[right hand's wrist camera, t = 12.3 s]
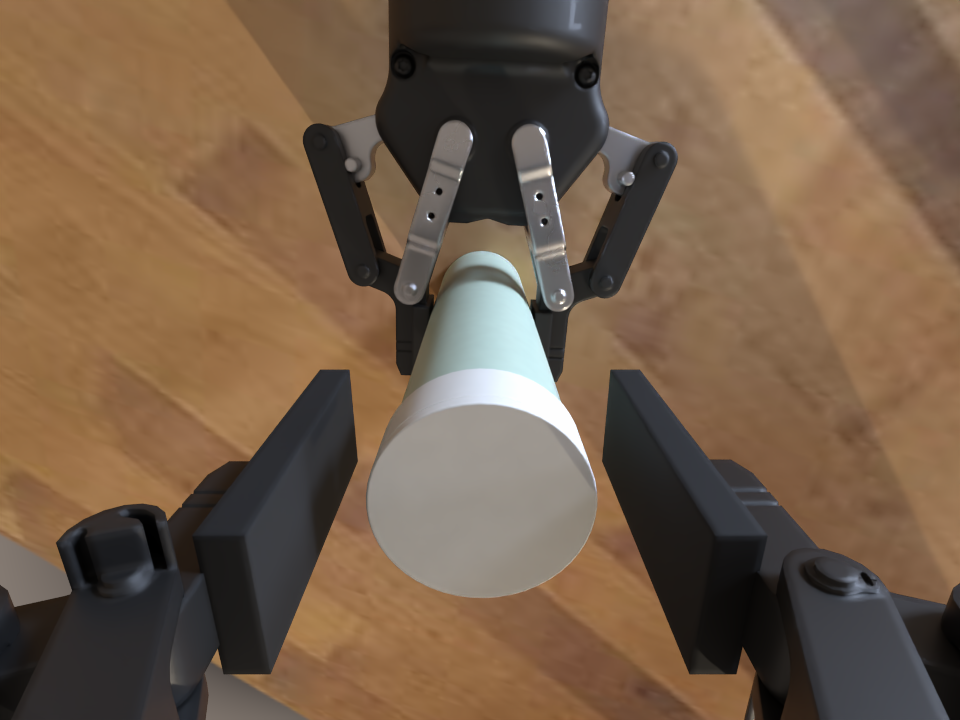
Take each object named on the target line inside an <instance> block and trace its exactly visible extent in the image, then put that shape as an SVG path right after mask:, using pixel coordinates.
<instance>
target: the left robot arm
mask: <svg viewBox="0 0 960 720" xmlns="http://www.w3.org/2000/svg"><path fill="white" fill-rule="evenodd" d="M608 1H609V0H389V75H388V80H387V84H386V87H385V90H384V92H383V94H382V96H381V98H380V100H379V102H378V104H377V107H376V113H375V115H372V116H368V117H365V118H361V119H358V120H354V121H351V122H347V123H344V124H340V125H337V126H328V125H324V124H313V125H311V126H309V127H308V128H307V129H306V131H305V132H304V135H303V144H304V148H305V151H306V154H307V157H308V159H309V162H310V165H311V168H312V171H313V174H314V177H315V180H316V183H317V186H318V189H319V192H320V194H321V197H322V200H323V203H324V206H325V209H326V212H327V215H328V218H329V221H330V224H331V226H332V229H333V232H334V235H335V238H336V241H337V244H338V247H339V250H340V253H341V256H342V259H343V261H344V264H345V267H346V270H347V273H348V276H349V278H350V279H351V281H352V282H353V283H355V284H357V285H359V286H371V287H373V288H376V289H378V290H381V291H383V292H385V293H387V294H388V295H389V296H390V297H391V298H392V299H393V301H394V303H395V306H396V364H397V366H398V369H399V371H400V373H401V375H411V374H412V371H413V368H414V365H415V362H416V359H417V356H418V353H419V350H420V347H421V344H422V340H423V337H424V334H425V331H426V328H427V325H428V322H429V319H430V316H431V313H432V310H433V307H434V295H430V294H429V282H430V279H431V276H432V273H433V270H434V267H435V264H436V261H437V258H438V254H439V251H440V248H441V245H442V242H443V240H444V237H445V234H446V231H447V228H448V224H449V222H454V223H469V222H474V221H478V220H483V219H491V220H494V221H497V222H500V223H504V224H507V225H517V226H524V229H525V234H526V238H527V242H528V246H529V250H530V254H531V259H532V263H533V268H534V273H535V277H536V282H537V294H536V300H531V304H530V311H531V314H532V317H533V320H534V323H535V326H536V329H537V332H538V335H539V338H540V341H541V344H542V347H543V350H544V353H545V356H546V359H547V362H548V365H549V368H550V371H551V374H552V377H553V380H554V382H557V380H558V379H559V377H560V375H561V373H562V370H563V361H564V351H565V342H566V333H567V323H568V316H569V313H570V311H571V309H572V308H573V307H574V306H575V305H576V304H577V303H579V302H581V301H584V300H588V299H591V298H594V297H600V298H610V297H612V296H614V295H615V294H616V293H617V292H618V291H619V289H620V287H621V285H622V283H623V281H624V279H625V276H626V274H627V272H628V270H629V268H630V265H631V263H632V261H633V259H634V257H635V254H636V252H637V250H638V248H639V246H640V243H641V241H642V239H643V237H644V235H645V232H646V230H647V228H648V226H649V224H650V222H651V219H652V217H653V215H654V213H655V211H656V208H657V206H658V204H659V202H660V200H661V197H662V195H663V193H664V191H665V189H666V186H667V184H668V182H669V180H670V178H671V175H672V173H673V171H674V169H675V167H676V164H677V160H678V156H677V151H676V149H675V148H674V146H672V145H671V144H670V143H667V142H647V141H644V140H642V139H639V138H637V137H634V136H632V135H629V134H627V133H624V132H622V131H619V130H617V129H614V128H612V127H609V119H608V114H607V112H606V109H605V107H604V104H603V101H602V97H601V91H600V74H601V65H602V56H603V46H604V37H605V28H606V19H607V10H608ZM382 143H385V145H386V146H387V148H388V149H389V151H390V152H391V154H392V155H393V157H394V158H395V160H396V161H397V163H398V164H399V166H400V167H401V169H402V170H403V172H404V173H405V175H406V176H407V178H408V179H409V181H410V182H411V184H412V185H413V187H414V188H415V190H416V191H417V193H418V194H419V196H420V198H419V201H418V204H417V208H416V211H415V214H414V218H413V221H412V224H411V228H410V231H409V234H408V238H407V244H406V248H405V251H404V255H403V258H402V259H400V258H397V257H395V256H393V255H390V254H388V253H387V252H386V249H385V246H384V243H383V239H382V236H381V233H380V230H379V227H378V224H377V220H376V217H375V214H374V211H373V208H372V204H371V201H370V198H369V195H368V192H367V188H366V185H365V182H364V181H366V180H368V179H370V178H371V177H372V176H373V174H374V172H375V168H376V164H375V153H376V150H377V148H378V147H379V146H380V145H381V144H382ZM597 154H599V155H600V156H601V157H602V159H603V161H604V166H605V168H604V174H603V184H604V186H605V188H606V189H607V190H608V191H609V192H611V193H612V194H611V197H610V199H609V201H608V204H607V206H606V209H605V211H604V213H603V216H602V218H601V220H600V223H599V225H598V227H597V230H596V232H595V235H594V237H593V239H592V242H591V244H590V246H589V249H588V251H587V253H586V256H585V258H584V261H583V262H582V263H579V264H576V265H572V266H569V265H568V260H567V255H566V242H565V237H564V231H563V226H562V221H561V216H560V211H559V206H558V201H559V200H560V199H561V198H562V196H563V195H564V194H565V193H566V192H567V190H568V189H569V188H570V187H571V185H572V184H573V183H574V182H575V181H576V179H577V178H578V177H579V176H580V174H581V173H582V172H583V171H584V170H585V168H586V167H587V166H588V165H589V163H590V162H591V161H592V160H593V159H594V157H595V156H596V155H597Z"/></svg>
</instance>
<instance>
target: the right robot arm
mask: <svg viewBox="0 0 960 720" xmlns="http://www.w3.org/2000/svg"><path fill="white" fill-rule="evenodd" d="M357 462H358V458H357V447H356V437H355V426H354V415H353V404H352V393H351V382H350V371H349V370H320V371H319V372H318V373H317V375H316V376H315V377H314V379H313V380H312V381H311V382H310V384H309V385H308V386H307V388H306V389H305V390H304V391H303V393H302V394H301V395H300V397H299V398H298V399H297V401H296V402H295V403H294V404H293V406H292V407H291V408H290V410H289V411H288V412H287V413H286V415H285V416H284V417H283V419H282V420H281V421H280V423H279V424H278V425H277V426H276V428H275V429H274V430H273V432H272V433H271V434H270V435H269V437H268V438H267V439H266V441H265V442H264V443H263V445H262V446H261V447H260V448H259V450H258V451H257V452H256V454H255V455H254V456H253V457H252V459H251V460H250V461H229V462H228V463H226V464H224V465H223V466H221V467H220V468H218V469H216V470H215V471H213V472H212V473H210V474H208V475H207V476H206V477H205V479H204V480H203V481H202V482H201V483H200V484H199V486H198V487H197V488H196V489H195V490H194V494H191V495H190V496H189V497H188V498H187V499H186V500H185V502H184V503H183V504H182V508H178V510H177V511H176V512H175V513H174V514H173V515H172V516H171V518H170V519H169V520H168V521H167V518H166V514H165V512H164V511H163V510H161V509H160V508H159V507H157V506H153V505H147V504H133V505H123V506H119V507H116V508H112V509H108V510H104V511H102V512H99V513H97V514H95V515H93V516H90V517H88V518H86V519H84V520H82V521H81V522H79V523H78V524H76V525H75V526H73V527H71V528H70V529H68V530H67V531H66V532H65V533H64V534H63V535H62V537H61V538H60V539H59V540H58V541H57V542H56V544H57V547H58V550H59V553H60V556H61V559H62V562H63V565H64V568H65V571H66V574H67V577H68V580H69V583H70V586H71V589H72V592H71V594H70V595H67V596H63V597H59V598H54V599H50V600H45V601H40V602H36V603H31V604H27V605H22V606H17V607H14V605H13V603H12V600H11V598H10V595H9V593H8V590H6V589H5V588H3V587H2V586H1V585H0V720H205V719H206V711H207V703H208V688H207V682H206V677H205V674H204V673H205V671H206V669H207V667H208V665H209V664H210V662H211V660H212V658H213V656H214V654H215V652H216V651H217V649H218V652H219V656H220V660H221V665H222V669H223V673H224V674H271V672H272V669H273V667H274V664H275V662H276V659H277V657H278V655H279V652H280V650H281V647H282V645H283V642H284V640H285V637H286V635H287V633H288V630H289V628H290V625H291V623H292V620H293V618H294V616H295V613H296V611H297V608H298V606H299V603H300V601H301V598H302V596H303V594H304V591H305V589H306V586H307V584H308V581H309V579H310V576H311V574H312V572H313V569H314V567H315V564H316V562H317V559H318V557H319V555H320V552H321V550H322V547H323V545H324V542H325V540H326V537H327V535H328V533H329V530H330V528H331V525H332V523H333V520H334V518H335V516H336V513H337V511H338V508H339V506H340V503H341V501H342V498H343V496H344V494H345V491H346V489H347V486H348V484H349V481H350V479H351V476H352V474H353V472H354V469H355V467H356V464H357ZM602 462H603V464H604V467H605V469H606V472H607V474H608V476H609V479H610V481H611V484H612V486H613V489H614V491H615V494H616V496H617V498H618V501H619V503H620V506H621V508H622V511H623V513H624V516H625V518H626V520H627V523H628V525H629V528H630V530H631V533H632V535H633V537H634V540H635V542H636V545H637V547H638V550H639V552H640V555H641V557H642V559H643V562H644V564H645V567H646V569H647V572H648V574H649V576H650V579H651V581H652V584H653V586H654V589H655V591H656V594H657V596H658V598H659V601H660V603H661V606H662V608H663V611H664V613H665V616H666V618H667V620H668V623H669V625H670V628H671V630H672V633H673V635H674V637H675V640H676V642H677V645H678V647H679V650H680V652H681V655H682V657H683V659H684V662H685V664H686V667H687V669H688V672H689V674H736V673H737V669H738V665H739V660H740V656H741V652H742V647H743V648H744V650H745V652H746V653H747V655H748V657H749V659H750V661H751V663H752V664H753V666H754V668H755V670H756V673H755V677H754V681H753V686H752V690H751V694H750V698H749V702H748V706H747V710H746V714H745V719H744V720H754V719H755V720H960V584H958V585H957V586H955V587H954V588H953V590H952V593H951V595H950V598H949V600H948V603H947V605H945V604H940V603H936V602H931V601H926V600H922V599H917V598H913V597H908V596H903V595H899V594H895V593H891V592H889V591H888V589H887V588H886V587H885V585H884V584H883V583H882V581H881V580H880V579H879V577H878V576H876V575H875V574H874V573H872V572H871V571H870V570H869V569H867V568H866V567H865V566H863V565H862V564H860V563H858V562H856V561H854V560H852V559H850V558H848V557H846V556H844V555H841V554H838V553H835V552H831V551H828V550H825V549H819V548H818V547H817V546H816V545H815V544H814V542H813V541H812V540H811V539H810V538H809V537H808V536H807V534H806V533H805V532H804V531H803V530H802V529H801V528H800V526H799V525H798V524H797V523H796V522H795V521H794V520H793V518H792V517H791V516H790V515H789V514H788V513H787V512H786V511H785V509H784V508H783V507H782V506H779V505H778V501H777V500H776V499H775V498H774V497H773V496H772V495H771V493H770V492H767V489H766V488H765V487H764V486H763V484H762V483H761V482H760V481H759V480H758V479H757V478H756V476H755V475H754V474H753V473H752V472H750V471H748V470H747V469H745V468H743V467H742V466H740V465H739V464H737V463H735V462H734V461H732V460H709V459H708V457H707V456H706V455H705V454H704V452H703V451H702V450H701V448H700V447H699V446H698V445H697V443H696V442H695V441H694V439H693V438H692V437H691V435H690V434H689V433H688V432H687V430H686V429H685V428H684V426H683V425H682V424H681V423H680V421H679V420H678V419H677V417H676V416H675V415H674V413H673V412H672V411H671V410H670V408H669V407H668V406H667V404H666V403H665V402H664V401H663V399H662V398H661V397H660V395H659V394H658V393H657V391H656V390H655V389H654V388H653V386H652V385H651V384H650V382H649V381H648V380H647V379H646V377H645V376H644V375H643V373H642V372H641V371H640V370H611V371H610V382H609V393H608V404H607V415H606V426H605V436H604V447H603V458H602Z"/></svg>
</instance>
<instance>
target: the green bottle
mask: <svg viewBox="0 0 960 720" xmlns="http://www.w3.org/2000/svg"><path fill="white" fill-rule="evenodd" d="M479 368H481V369H496V370H502V371H508V372H511V373H515V374H518V375H521V376H523V377H526V378H528V379H530V380H532V381H534V382H536V383H538V384H539V385H541V386H542V387H544V388H545V389H547V390H548V391H549V392H550V393H552V394H553V395H554V396H555V397H556V398H557V399H558V400H559V401H560V402H561V400H560V397H559V394H558V391H557V388H556V386H555V383H554V380H553V377H552V374H551V371H550V368H549V365H548V362H547V359H546V356H545V353H544V350H543V347H542V344H541V341H540V338H539V335H538V332H537V329H536V326H535V323H534V320H533V317H532V314H531V311H530V308H529V305H528V302H527V299H526V296H525V293H524V290H523V287H522V284H521V281H520V278H519V275H518V273H517V271H516V270H515V268H514V267H513V265H512V264H511V263H510V262H509V261H508V260H506V259H505V258H503V257H502V256H500V255H498V254H495V253H492V252H487V251H475V252H471V253H468V254H465V255H463V256H461V257H459V258H458V259H457V260H455V261H454V262H453V263H452V264H451V265H450V267H449V268H448V269H447V271H446V273H445V275H444V277H443V280H442V283H441V286H440V289H439V292H438V295H437V298H436V301H435V304H434V307H433V310H432V313H431V316H430V319H429V322H428V325H427V328H426V331H425V334H424V337H423V340H422V344H421V347H420V350H419V353H418V356H417V359H416V362H415V365H414V368H413V371H412V374H411V377H410V380H409V383H408V386H407V389H406V392H405V395H404V398H403V401H404V400H405V399H406V398H407V397H408V396H409V395H410V394H412V393H413V392H414V391H415V390H416V389H418V388H419V387H421V386H422V385H424V384H425V383H427V382H429V381H431V380H433V379H435V378H437V377H440V376H443V375H446V374H449V373H451V372H456V371H461V370H466V369H479ZM403 401H402V402H403Z"/></svg>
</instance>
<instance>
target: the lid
mask: <svg viewBox="0 0 960 720" xmlns="http://www.w3.org/2000/svg"><path fill="white" fill-rule="evenodd" d="M366 508H367V514H368V519H369V523H370V526H371V529H372V531H373V534H374V536H375V538H376V540H377V542H378V544H379V546H380V547H381V548H382V550H383V551H384V553H385V554H386V555H387V557H388V558H389V559H390V560H391V561H392V562H393V563H394V564H395V565H396V566H397V567H398V568H399V569H401V570H402V571H403V572H404V573H405V574H407V575H408V576H410V577H411V578H413V579H415V580H416V581H418V582H420V583H422V584H424V585H426V586H428V587H430V588H433V589H435V590H438V591H441V592H444V593H448V594H452V595H456V596H463V597H473V598H490V597H501V596H506V595H512V594H516V593H519V592H523V591H526V590H528V589H531V588H533V587H536V586H538V585H540V584H542V583H544V582H546V581H547V580H549V579H551V578H552V577H554V576H555V575H557V574H558V573H559V572H561V571H562V570H563V569H564V568H565V567H566V566H567V565H569V564H570V563H571V562H572V560H573V559H574V558H575V557H576V556H577V555H578V554H579V552H580V551H581V549H582V548H583V546H584V545H585V543H586V541H587V539H588V537H589V535H590V533H591V531H592V527H593V524H594V521H595V517H596V510H597V489H596V483H595V478H594V475H593V472H592V469H591V466H590V463H589V461H588V458H587V455H586V452H585V450H584V447H583V444H582V441H581V438H580V436H579V433H578V430H577V427H576V425H575V423H574V421H573V419H572V417H571V415H570V414H569V412H568V411H567V410H566V408H565V407H564V405H563V404H562V403H561V402H560V401H559V400H558V399H557V398H556V397H555V396H554V395H553V394H552V393H550V392H549V391H548V390H547V389H545V388H544V387H542V386H541V385H539V384H538V383H536V382H534V381H532V380H530V379H528V378H526V377H523V376H521V375H518V374H515V373H511V372H508V371H502V370H496V369H481V368H479V369H466V370H461V371H456V372H451V373H449V374H446V375H443V376H440V377H437V378H435V379H433V380H431V381H429V382H427V383H425V384H424V385H422V386H421V387H419V388H418V389H416V390H415V391H414V392H413V393H412V394H410V395H409V396H408V397H407V398H406V399H405V400H404V401H403V402H402V404H401V405H400V406H399V407H398V408H397V410H396V411H395V413H394V414H393V416H392V418H391V419H390V422H389V424H388V426H387V428H386V431H385V433H384V436H383V439H382V442H381V445H380V447H379V450H378V453H377V456H376V459H375V462H374V464H373V467H372V470H371V473H370V477H369V480H368V484H367V492H366Z"/></svg>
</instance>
